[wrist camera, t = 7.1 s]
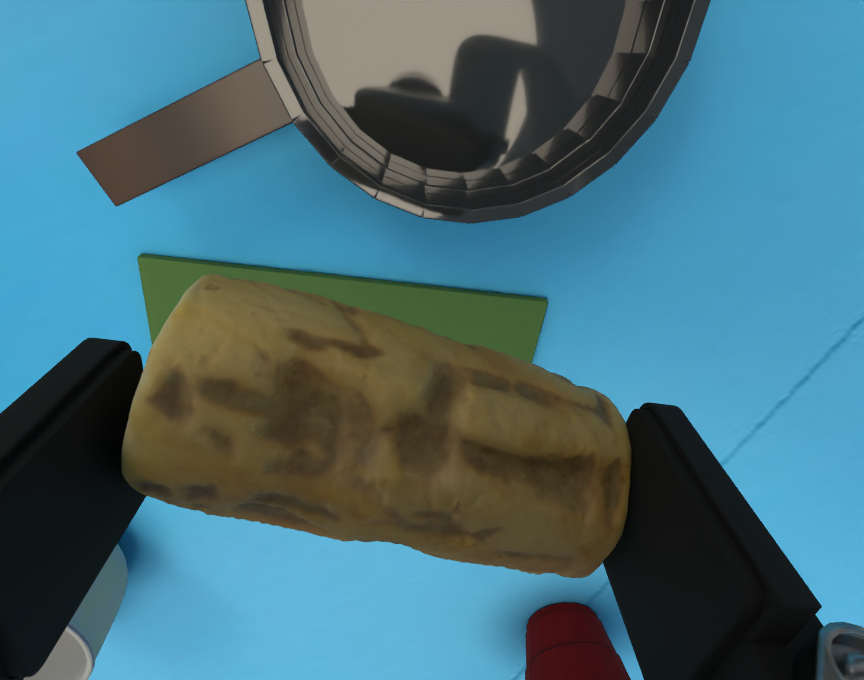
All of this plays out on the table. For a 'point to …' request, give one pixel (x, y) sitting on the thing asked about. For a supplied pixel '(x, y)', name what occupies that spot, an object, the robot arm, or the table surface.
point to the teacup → (88, 625)
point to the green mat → (366, 301)
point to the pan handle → (186, 134)
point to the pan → (474, 92)
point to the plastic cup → (570, 646)
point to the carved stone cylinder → (374, 433)
